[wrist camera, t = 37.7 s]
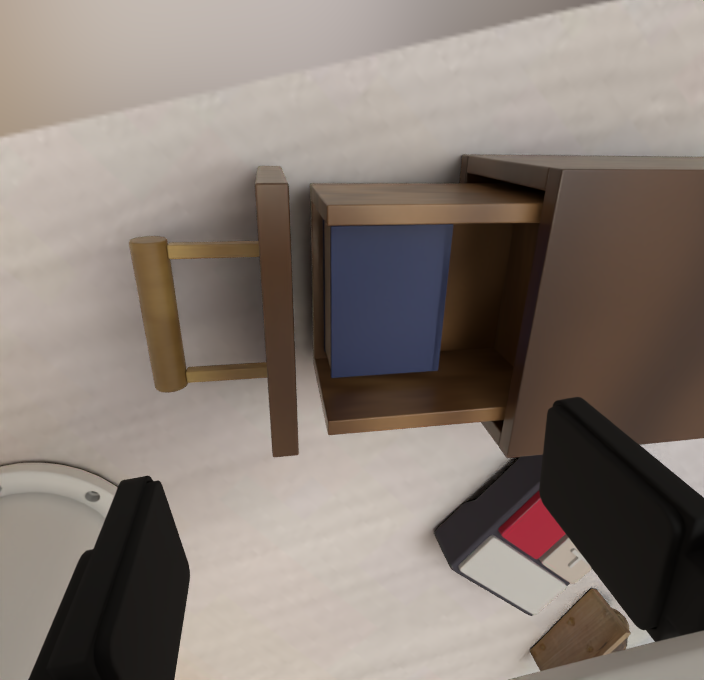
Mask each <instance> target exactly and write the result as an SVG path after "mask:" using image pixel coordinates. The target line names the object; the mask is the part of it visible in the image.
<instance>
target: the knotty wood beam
mask: <svg viewBox="0 0 704 680" xmlns="http://www.w3.org/2000/svg"><path fill="white" fill-rule="evenodd" d="M630 634H631V633H630V631H629V625H628V622H627V620H626V618H625V617H624V616H623V615H622V614H621V613H620V612H619V611H617V610H615V609H613V608H611V607H610V606H609V604H608V603H607V602H606V601H605V599H604V598H603V597H602V596H601V594H600V593H599V592H598V590H596V589H591V590H589V591H588V592H587V593H586V594H585V595H584V596H583V597H582V598H581V599H580V600H579V601H578V602H577V603H576V604H575V605H574V606H573V607H572V608H571V610H570V611H569V612H568V613H567V614H565V615H564V616H563V617H562V618H561V620H560V621H559V622H558V623H557V624H556V625H555V626H554V627H553V628H552V629H551V630H550V631H549V632H548V633H547V634H546V635H545V636H544V637H543V638H542V639H541V640H540V641H539V642H538V643H537V644H536V645H535V646H534V647H533V648H532V649H531V650H530V652H531V654H532V656H533V658H534V660H535V662H536V664H537V666H538V667H539V669H540V671H544V670H547V669H551V668H555V667H559V666H563V665H567V664H571V663H575V662H579V661H583V660H586V659H590V658H594V657H598V656H602V655H606V654H610V653H614V652H618V651H622V650H625V649H626V646H627V639H628V636H629V635H630Z"/></svg>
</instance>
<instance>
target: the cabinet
mask: <svg viewBox="0 0 704 680" xmlns="http://www.w3.org/2000/svg"><path fill="white" fill-rule="evenodd" d="M459 183H514V184H518V185H522V186H527V187H531V188H535V189H540V190H544V191H545V197H544V202H543V208H542V213H541V219H540V224H539V230H538V235H537V241H536V246H535V252H534V257H533V263H532V268H531V274H530V279H529V285H528V290H527V296H526V301H525V307H524V312H523V318H522V323H521V329H520V334H519V340H518V345H517V351H516V356H515V362H514V367H513V373H512V378H511V384H510V389H509V395H508V400H507V406H506V411H505V417H504V420H496V421H485V422H481V423H482V424H483V426H484V427H485V428H486V430H487V431H488V433H489V434H490V435H491V437H492V438H493V439H494V441H495V442H496V443H497V445H498V446H499V448H500V449H501V451H502V452H503V453H504V455H505V456H506V457H507V458H513V457H523V456H532V455H542V454H543V449H544V439H545V430H546V420H547V412H548V409H549V408H551V407H553V404H554V402H555V401H557V400H562V399H567V398H573V397H581V398H583V399H584V400H585V401H587V402H588V403H589V404H590V405H591V406H593V407H594V408H595V409H596V410H597V411H599V412H600V413H601V414H602V415H604V416H605V417H606V418H607V419H608V420H610V421H611V422H612V423H613V424H614V425H616V426H617V427H618V428H619V429H621V430H622V431H623V432H624V433H625V434H627V435H628V436H629V437H630V438H632V439H633V440H634V441H635V442H636V443H638V444H639V445H641V444H650V443H660V442H670V441H680V440H690V439H700V438H704V157H669V156H568V155H467V154H464V155H462V163H461V172H460V181H459Z"/></svg>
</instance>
